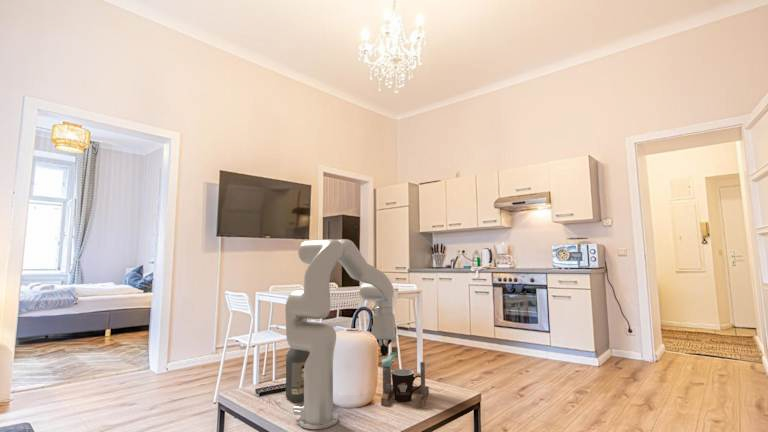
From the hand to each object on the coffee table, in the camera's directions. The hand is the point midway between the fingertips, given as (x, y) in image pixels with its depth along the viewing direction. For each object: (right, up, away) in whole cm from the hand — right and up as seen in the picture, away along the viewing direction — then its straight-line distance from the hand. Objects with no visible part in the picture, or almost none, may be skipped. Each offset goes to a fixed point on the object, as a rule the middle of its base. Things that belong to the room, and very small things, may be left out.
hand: (384, 355), depth 166 cm
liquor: (-33, -12, -15) cm, 38 cm away
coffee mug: (+8, -10, -19) cm, 23 cm away
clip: (+3, 0, -9) cm, 9 cm away
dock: (+9, -10, -18) cm, 22 cm away
